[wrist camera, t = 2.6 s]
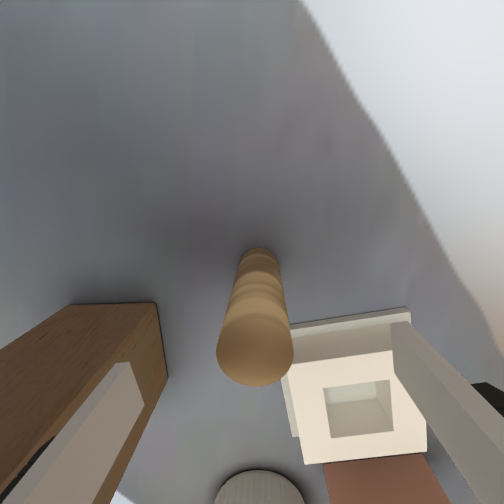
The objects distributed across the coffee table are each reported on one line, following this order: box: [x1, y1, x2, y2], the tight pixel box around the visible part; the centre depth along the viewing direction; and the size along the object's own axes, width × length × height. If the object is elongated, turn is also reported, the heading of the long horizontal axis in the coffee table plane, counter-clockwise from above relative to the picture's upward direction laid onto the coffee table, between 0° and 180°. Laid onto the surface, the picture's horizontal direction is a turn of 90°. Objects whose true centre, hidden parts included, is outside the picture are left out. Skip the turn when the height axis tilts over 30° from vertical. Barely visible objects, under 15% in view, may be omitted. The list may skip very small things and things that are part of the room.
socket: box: [281, 307, 427, 465], centre depth 28 cm, size 14×14×5 cm
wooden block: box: [0, 303, 167, 504], centre depth 21 cm, size 10×10×20 cm
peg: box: [216, 248, 294, 386], centre depth 21 cm, size 4×4×14 cm
